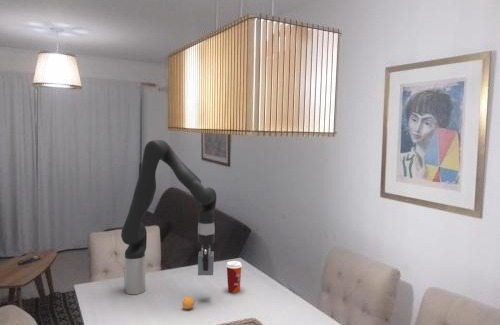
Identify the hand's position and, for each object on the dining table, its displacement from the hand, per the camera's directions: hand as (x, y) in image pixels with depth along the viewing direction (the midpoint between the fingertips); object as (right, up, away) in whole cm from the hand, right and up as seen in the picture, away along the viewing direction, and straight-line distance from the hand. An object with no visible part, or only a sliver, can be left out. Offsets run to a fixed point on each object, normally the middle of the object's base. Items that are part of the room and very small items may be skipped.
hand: (205, 267), depth 180 cm
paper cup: (+12, -15, +12) cm, 22 cm away
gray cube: (0, -2, 0) cm, 2 cm away
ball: (-7, -13, -8) cm, 17 cm away
